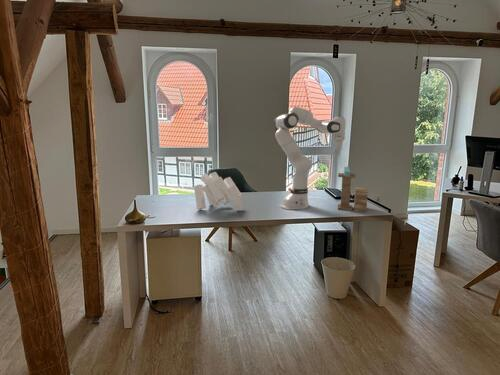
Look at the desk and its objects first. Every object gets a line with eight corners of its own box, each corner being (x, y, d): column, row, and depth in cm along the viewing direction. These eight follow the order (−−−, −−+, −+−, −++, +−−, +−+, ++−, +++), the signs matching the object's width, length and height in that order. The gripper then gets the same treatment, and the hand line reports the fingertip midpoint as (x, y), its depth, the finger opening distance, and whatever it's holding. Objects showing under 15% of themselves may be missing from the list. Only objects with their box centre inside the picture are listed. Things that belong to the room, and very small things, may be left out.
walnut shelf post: (336, 206, 269) (338, 172, 264) (352, 206, 267) (354, 173, 261) (336, 209, 260) (338, 175, 254) (353, 210, 257) (355, 175, 251)
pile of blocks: (245, 210, 276) (232, 169, 282) (247, 206, 247) (231, 160, 252) (203, 224, 273) (190, 182, 278) (199, 221, 244) (185, 175, 249)
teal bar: (343, 171, 270) (344, 166, 269) (348, 171, 269) (348, 166, 269) (344, 176, 249) (344, 171, 249) (349, 176, 249) (349, 171, 248)
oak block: (354, 206, 267) (355, 187, 264) (365, 207, 265) (366, 188, 262) (354, 211, 256) (356, 191, 253) (366, 211, 254) (367, 191, 251)
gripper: (334, 136, 286) (333, 153, 289) (335, 138, 267) (334, 156, 270) (342, 136, 285) (341, 153, 288) (343, 138, 265) (342, 156, 268)
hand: (338, 154), depth 279 cm, fingers open, 8 cm apart
